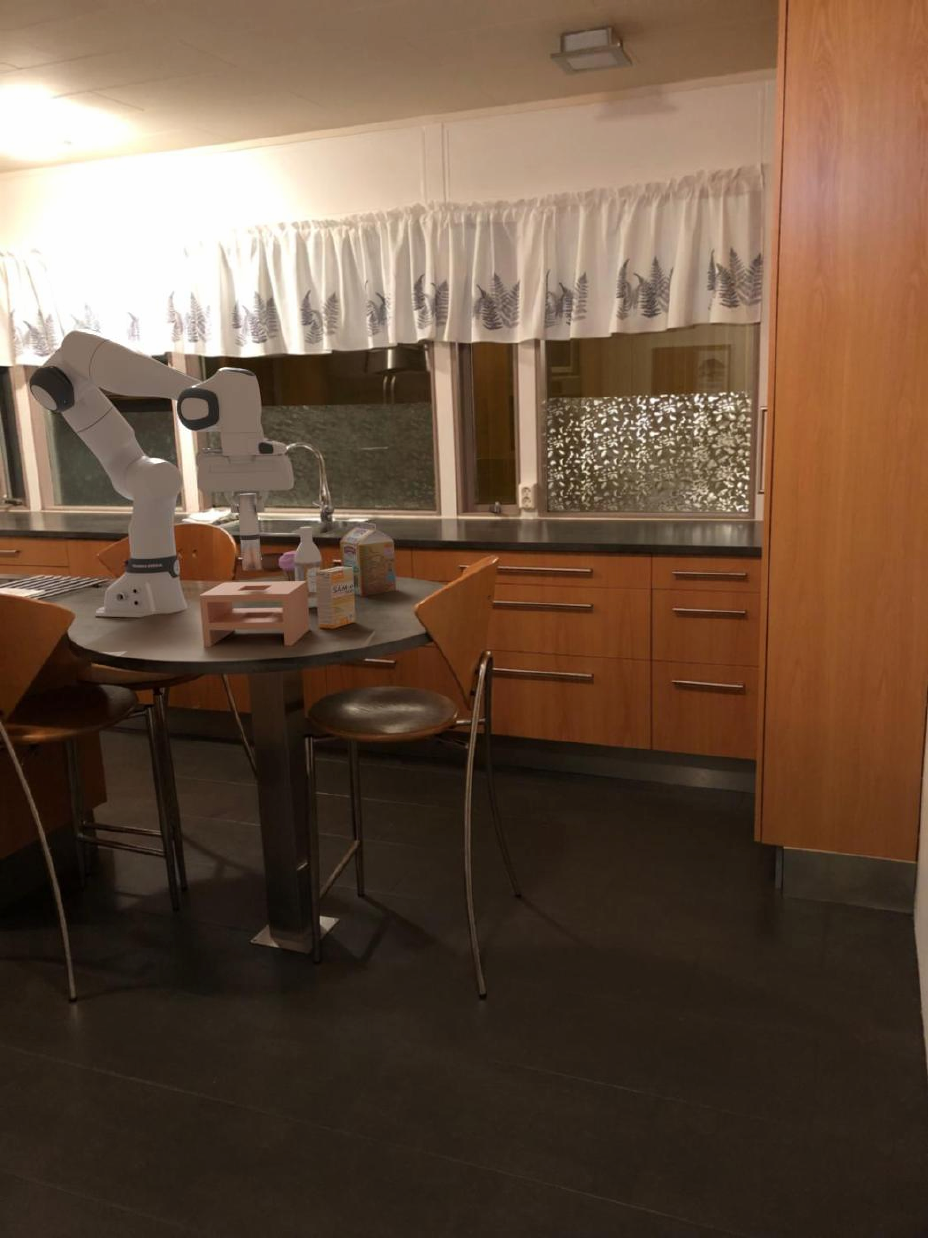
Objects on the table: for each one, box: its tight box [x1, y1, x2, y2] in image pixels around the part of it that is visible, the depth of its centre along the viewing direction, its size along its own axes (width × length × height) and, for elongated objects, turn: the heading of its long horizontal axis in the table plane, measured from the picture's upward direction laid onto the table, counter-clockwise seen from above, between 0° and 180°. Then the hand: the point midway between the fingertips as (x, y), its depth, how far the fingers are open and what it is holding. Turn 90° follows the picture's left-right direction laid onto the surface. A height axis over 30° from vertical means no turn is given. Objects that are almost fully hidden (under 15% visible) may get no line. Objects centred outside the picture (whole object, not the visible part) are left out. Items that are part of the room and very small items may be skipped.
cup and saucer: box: [254, 552, 285, 574], centre depth 304 cm, size 12×12×6 cm
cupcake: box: [279, 550, 296, 581], centre depth 281 cm, size 9×9×10 cm
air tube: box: [236, 493, 263, 571], centre depth 210 cm, size 4×4×16 cm
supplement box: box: [315, 566, 356, 629], centre depth 224 cm, size 8×5×13 cm, turn 148°
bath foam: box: [294, 526, 324, 609], centre depth 248 cm, size 7×7×20 cm
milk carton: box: [339, 521, 397, 597], centre depth 264 cm, size 11×11×19 cm
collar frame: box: [198, 580, 311, 647], centre depth 214 cm, size 19×16×11 cm
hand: (248, 512), depth 210 cm, fingers closed on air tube, 4 cm apart
